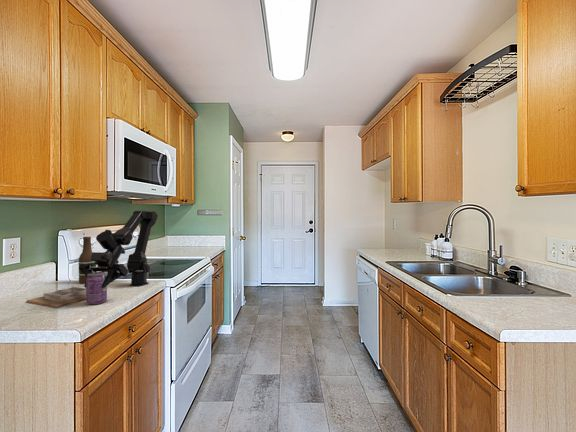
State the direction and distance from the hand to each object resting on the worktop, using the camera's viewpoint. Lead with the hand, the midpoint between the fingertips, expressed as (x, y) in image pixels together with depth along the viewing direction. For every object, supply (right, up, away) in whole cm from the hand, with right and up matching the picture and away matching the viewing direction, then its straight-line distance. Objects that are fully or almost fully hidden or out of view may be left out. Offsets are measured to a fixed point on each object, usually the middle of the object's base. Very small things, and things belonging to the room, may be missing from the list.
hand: (93, 287), depth 121 cm
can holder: (-16, -7, +8) cm, 20 cm away
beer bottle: (-27, -6, +37) cm, 47 cm away
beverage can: (0, -7, +1) cm, 7 cm away
